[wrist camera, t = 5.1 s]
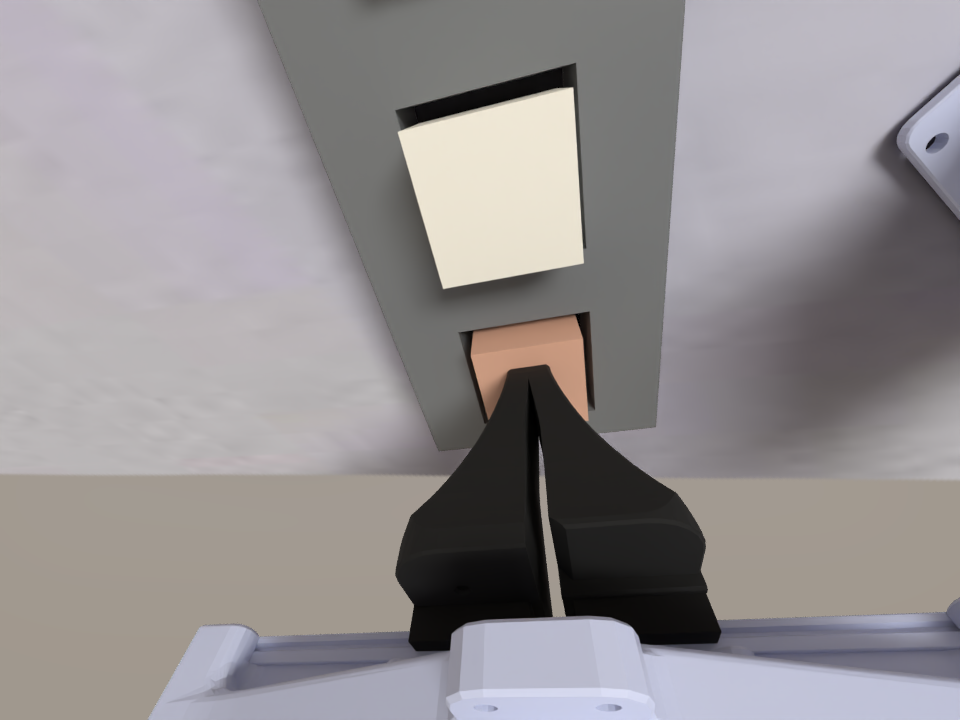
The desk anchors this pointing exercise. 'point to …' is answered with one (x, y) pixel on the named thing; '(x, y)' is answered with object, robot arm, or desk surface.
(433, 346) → the button panel
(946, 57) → the desk surface
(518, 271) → the cream button
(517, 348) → the terracotta button
